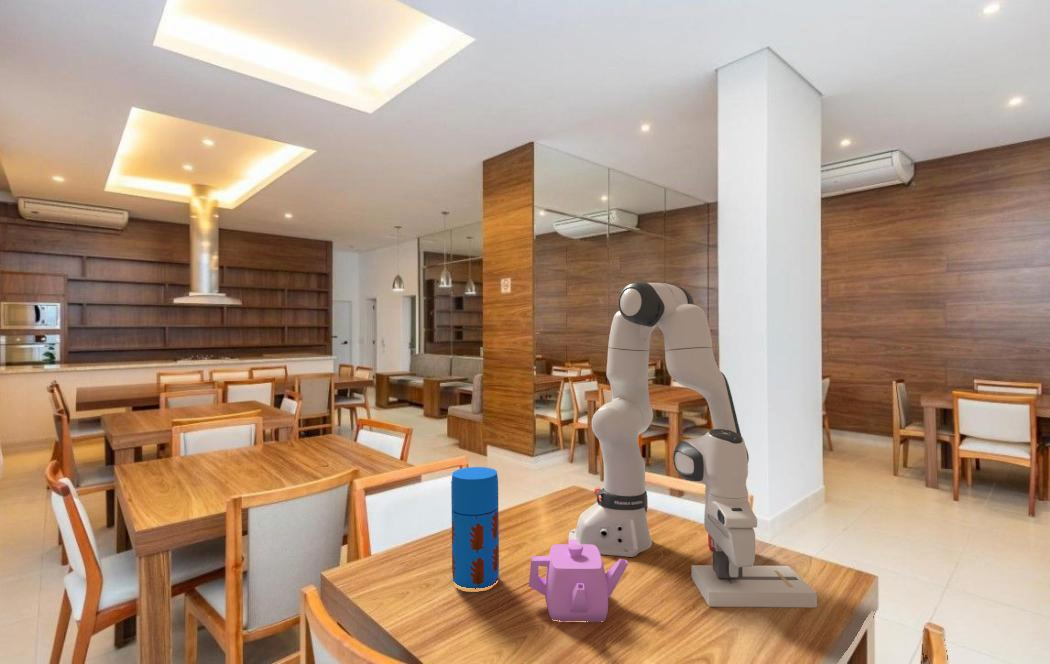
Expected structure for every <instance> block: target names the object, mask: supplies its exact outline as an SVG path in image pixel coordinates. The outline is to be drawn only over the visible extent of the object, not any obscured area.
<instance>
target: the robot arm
mask: <svg viewBox="0 0 1050 664" xmlns="http://www.w3.org/2000/svg"><path fill="white" fill-rule="evenodd" d="M617 305H618V311H617V312H616V313H615V314H614V315H613V318H612V322H611V326H610V331H609V336H608V345H607V347H608V348H607V359H606V378H607V380H608V382H609V385H610V390H611V391H610V393H611V401H609V402H607V403H604V404H603V405H601V406H600V407H599V408H598V409H597V410H596V411H595V412H594V413H593V416H592V419H591V430H592V433H593V434H594V436H595V437H596V438H597V440H598V442H599V446H600V451H601V456H602V460H603V461H602V462H603V488H600V487H599V486H595V487H594V488H593V493H594V495H595V496H596V502H595V503H594V504H593V505H591V506H590V507H589V508H587V509H586V510H584V511H583V512H581V513H580V515H578V520H577V523H576V528H573V529H572V530H570V531H569V534H568V539H569V540H578V544H591V545H595V546H596V547H597V548H598V550H599V552H600V555H607V556H618V557H629V558H633V557H637V555H638V554H639V553H641V552H645V551H647V550H649V549H650V548H651V547H652V546H653V540H652V538H651V534H650V530H649V523H648V518H647V517H648V516H647V512H648V505H649V504H648V503H649V502H648V491H647V490H646V462H645V460H644V458H643V456H642V454H641V451H640V445H639V436H640V435H641V434H643V433H644V432H646V431H647V430H648V428H649V427H650V426H651V424H652V422H653V418H654V411H653V408H652V406H651V400H650V399H651V398H650V390H649V376H648V375H649V363H650V348H651V347H650V346H651V345H650V344H651V335H652V333H653V331H654V330H655V329H656V328H659V330H661V332H662V334H663V335H662V336H663V340H664V341H663V344H664V357H665V366H666V370H667V372H668V374H669V376H670V377H671V378H672V379H673V380H674V381H675V383H678V384H679V385H680V386H683V387H685V388H687V389H689V390H693V391H695V392H697V393H699V394H700V395H701V396H702V397H703V398H704V399H705V400H706V402H707V405H708V408H709V412H710V413H709V414H710V417H711V422H712V426H713V429H710V430H709V431H707V432H706V433H705V434H704V435H702V436H699V437H695V438H689V439H688V438H687V439H685V440H681V441H679V442H678V443H677V444H676V446H675V448H674V450H673V455H672V460H673V465H674V469H675V471H676V473H677V474H678V475H679V476H680V477H681V478H682V479H684V480H685V481H690V482H701V483H703V484H704V485H705V488H704V504H705V505H704V519H703V521H704V522H703V523H704V524H703V525H704V529H705V531H706V532H707V535H708V534H709V535H710V536H711V537H712V538H713V540H714V544H715V548H716V551H723V552H724V553H725V554H726V555H727V556H728V559H729V561H730V562H729V566H727V569H728V571H727V572H728V574H729V575H730V577H738V569H739V567H752V566H754V564H755V560H756V532H755V530H754V529H755V528H757V527H758V518H757V516H756V515H755V513H754V511H753V509H752V507H751V504H750V501H749V490H748V487H747V479H748V476H749V462H750V461H749V459H750V457H749V455H750V454H749V452H748V448H747V445H746V443H745V440H744V438H743V436H742V433H741V430H740V426H739V422H738V421H739V420H738V415H737V413H736V409H735V405H734V400H733V396H732V392H731V388H730V384H729V382H728V379H727V378H726V375H725V374H724V373H723V372H722V371H721V370H720V369H719V367H718V364H717V362H716V358H715V355H714V348H713V339H712V334H711V330H710V325H709V322H708V318H707V315H706V312H705V311H704V309H703V308H702V307H700V306H699V305H696V304H695V303H694V299H693V296H692V295H691V293H690V292H689V291H687V289H685V288H683V287H681V286H679V285H675V284H673V285H672V284H669V283H664V282H646V281H637V282H632V283H629V284H628V285H626V286H625V287H624V288H623V289H621V291H620V293H619V296H618V301H617Z"/></svg>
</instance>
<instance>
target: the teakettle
mask: <svg viewBox="0 0 1050 664" xmlns="http://www.w3.org/2000/svg"><path fill="white" fill-rule="evenodd" d="M567 542H568V543H566V544H565V543H559V544H558V543H557V544H555V543H554V544H553V545H552V546H551V548H550V550H549V555H541V556H540V555H538V556H537V555H535V556H534V555H533V556H531V557H530V570H529V580H528V587H530V588H531V589H533V590H534V591H536V592H538V593H540V594H541V595H543V596H544V597H545V604H546V607H547V608H546V609H547V612H548V615H549V618H550V617H551V618H550V620H551V619H553V620H558V621H559V620H560V621H586V622H587V621H588V622H598V623H602V622H601V621H604V620H605V621H606V618H607V616H608V612H609V611H608V609H609V598H610V597H612V595H613V592H614V590H615V588H616V587H617V585H618V583H619V581H620V580H621V578H622V576H623V575H624V573H625V571H626V569H627V568H628V567H629V561H628V560H627V559H622V558H618V560H617V561H616V562H615V563H614V564H613V565H612V566H611V568H609V569H608V570H607V572H605V567H604V563H603V558H602V554H600V552H599V550H598V548H597V547H596V546H595V545H591V544H578V540H569V538H568V539H567ZM539 567H546V573H545V574H546V575H545V578H543V577H540V576H539ZM605 621H604V622H605Z"/></svg>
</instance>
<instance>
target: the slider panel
mask: <svg viewBox="0 0 1050 664" xmlns="http://www.w3.org/2000/svg"><path fill="white" fill-rule="evenodd" d="M742 573H743V578H719V577H718V576H717V574H716V573H715V572H714V570H713V564H710V565H707V564H706V565H704V564H703V565H700V564H699V565H698V564H697V565H695V564H694V565H691V580H692V581H693V583H694V584H695V586H696V588H697V590H698V592H700V595H701V596H702V598H703V599H704V601H705V602H706V604H707V605H708V607H711V608H713V607H715V608H716V607H717V608H719V607H723V608H725V607H727V608H728V607H732V608H735V607H736V608H737V607H738V608H818V593H817V591H816V590H814V588H812V587H811V586H810V585H809V584H808V583H807V582H806V581H805V580H804V579H803V578H801V576H799V575H798V574H797V573H796V572H795V570H793V569H792V568H791V567H790V566H789V565H753V566H752V567H742Z"/></svg>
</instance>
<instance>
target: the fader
mask: <svg viewBox="0 0 1050 664" xmlns="http://www.w3.org/2000/svg"><path fill="white" fill-rule="evenodd" d="M711 552H712V553H711V554H712V565H713V570H714V572H715V573H716V574H717V576H718V577H719V578H743V573H742V567H739V569H738V577H730V575H729V574H728V572H727V571H728V569H727V566H729V562H730V561H729V559H728V556H727V555H726V554H725V553H724V552H723V551H711Z"/></svg>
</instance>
